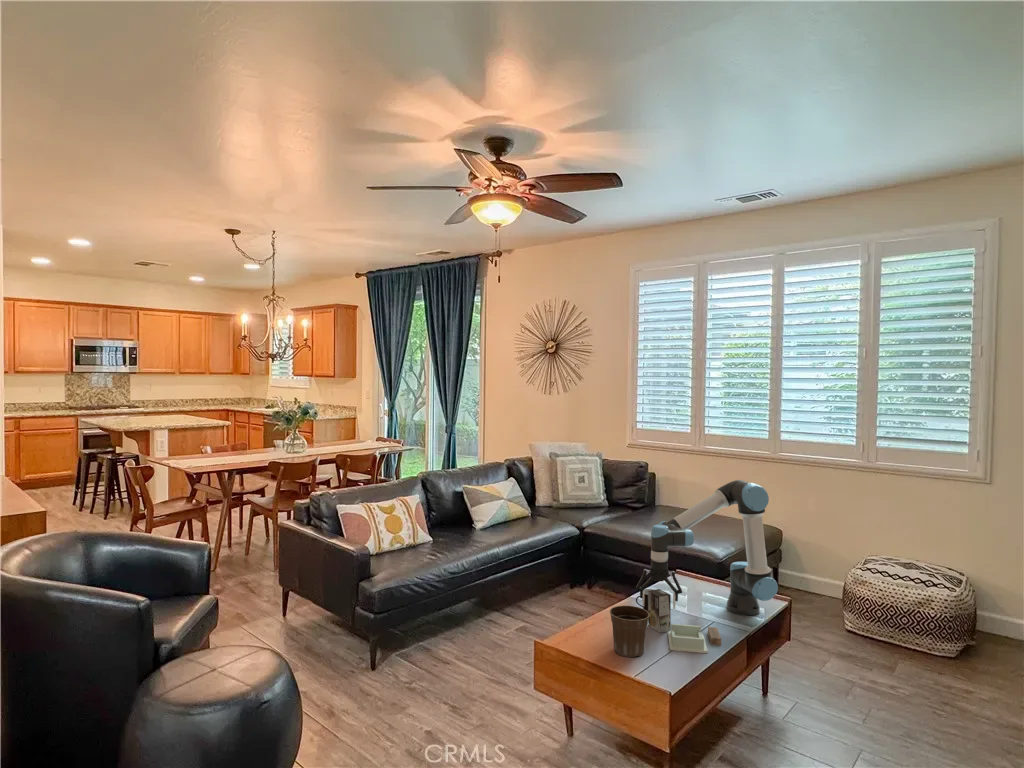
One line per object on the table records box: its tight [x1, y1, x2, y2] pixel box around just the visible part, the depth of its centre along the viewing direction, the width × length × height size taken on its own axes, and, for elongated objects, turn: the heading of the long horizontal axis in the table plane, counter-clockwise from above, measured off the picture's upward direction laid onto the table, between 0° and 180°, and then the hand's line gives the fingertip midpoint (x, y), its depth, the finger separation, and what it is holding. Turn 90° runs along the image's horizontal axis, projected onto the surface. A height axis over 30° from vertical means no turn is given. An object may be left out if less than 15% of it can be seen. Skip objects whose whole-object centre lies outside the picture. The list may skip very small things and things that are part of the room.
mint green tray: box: [667, 623, 709, 654], centre depth 259 cm, size 15×17×5 cm
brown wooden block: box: [707, 626, 722, 646], centre depth 263 cm, size 4×12×3 cm, turn 168°
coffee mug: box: [635, 588, 655, 611], centre depth 293 cm, size 12×9×10 cm
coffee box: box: [647, 588, 672, 633], centre depth 275 cm, size 9×6×16 cm
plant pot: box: [609, 605, 650, 658], centre depth 251 cm, size 16×16×16 cm
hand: (658, 606), depth 274 cm, fingers open, 13 cm apart
